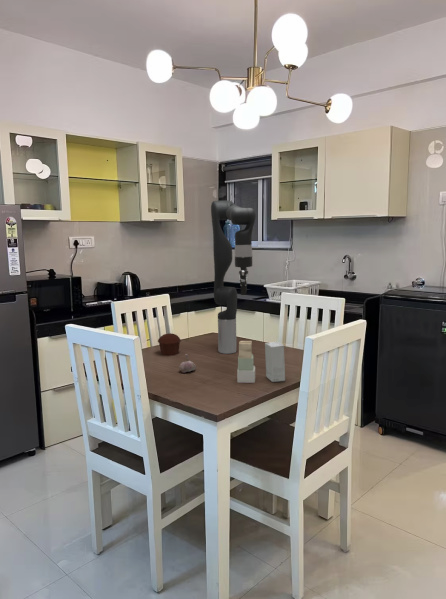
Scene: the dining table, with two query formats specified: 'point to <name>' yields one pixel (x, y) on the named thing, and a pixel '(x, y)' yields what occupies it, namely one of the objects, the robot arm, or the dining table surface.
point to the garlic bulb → (187, 366)
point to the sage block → (245, 364)
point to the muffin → (169, 344)
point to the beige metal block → (245, 349)
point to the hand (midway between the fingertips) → (243, 293)
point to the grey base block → (246, 376)
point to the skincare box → (275, 361)
